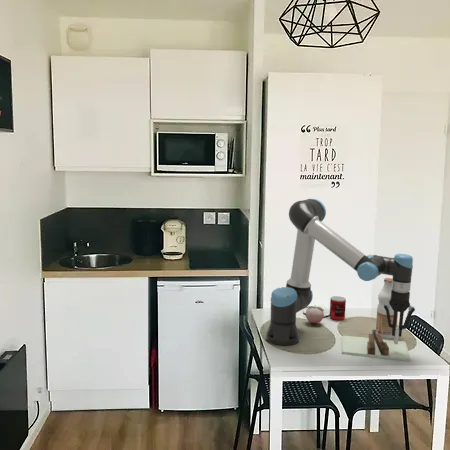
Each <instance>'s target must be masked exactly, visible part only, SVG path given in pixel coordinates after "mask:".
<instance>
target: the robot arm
mask: <svg viewBox="0 0 450 450" xmlns="http://www.w3.org/2000/svg"><path fill="white" fill-rule="evenodd" d="M326 210H327V209H326V207H325V205H324V203H323V202H322V201H320V200H319V199H317V198H308V199H303V200H302V199H301V200H298V201H295V202H294V203H293V204H292V205H291V206H290V208H289V211H288V217H289V218H288V219H289V220H290V223H291V224H292V226H294V227H295V229H296V230H297V233H296V239H295V246H294V253H293V257H292V258H293V259H292V267H291V273H290V278H288V279H287V280H286V286H285V287H284V286H283V287H278V288H277V287H276V288H275V289H274V290H272V292H271V294H270V295H271V296H270V322H269V326H268V327H267V331H266V333H265V334H266V335H265V336H266V337H265V340H266V341H267V342H268V343H271V344H273V345H276V346H277V345H278V346H291V345H295V344H297V343H299V342H300V334H299V330H298V327H297V324H296V323H297V313H298V312H301V311H302V310H305V309H307V308H306V307H308V306H310V304H311V303H312V301H313V297H314V296H313V295H314V294H313V291H312V290H311V288H312V284H311V282H310V281H309V280H310V273H311V267H312V259H313V255H314V250H315V249H314V247H315V242H316V241H317V242H318V243H319V244H320V245H322V246H323V247H324V248H326V249H327V250H329V252H331V253H332V254H334V255H335V256H336V257H337V258H339V259H340V260H342V261H343V263H345V264H347V265H348V266H349V267H350V268H352V269H353V270H354V271H356V273H357V276H358V278H359V279H361V280H362V281H364V282H370V281H372V280H376V279H377V278H378V276H380V275H387V276H392V289H393V290H391V299H390V301H389V303H388V304H384V308H385V310H386V314H387V320H388V325H389V327H391V328H392V336H394V339H393V340H394V344H398V341H399V338H400V337H402V334H403V333H402V331H403V330H406V329H407V328H408V326H409V322H410V320H411V317H412V314H413V313H415V311H416V308H415V307H414V306H412V305H411V303H410V298H411V297H410V296H411V292H410V291H411V283H412V275H413V267H414V266H413V265H414V264H413V262H414V259H413V256H412V255H410V254H406V253H396V254H395V255H394V257H390V256H389V257H388V256H384V255H377V254H368V255H366V254H365V253H363V252H362V251H360V250H359V249H358V248H357V247H355V246H354V245H352V244H351V243H350V242H348V241H347V240H346V239H345V238H344V237H342V236H341V235H339V234H338V233H337V232H336V231H334V230H333V229H332V228H330V226H329V227H328V226H327V225H326V224H325V223H324V222H322V221H323V220H325V218H326V214H327V211H326ZM389 306H391V307H392V309H393V310H394V315H393V324H391V319H390V313H389V308H390V307H389ZM407 309H408V311H407ZM405 311H407V315H406V317H405V319H404V314H405ZM397 312H398V313H399V321H398V319H397ZM396 321H397V322H398V327H397V328H396Z"/></svg>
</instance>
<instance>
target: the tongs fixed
mask: <svg viewBox="0 0 450 450" xmlns="http://www.w3.org/2000/svg"><path fill="white" fill-rule="evenodd" d="M375 334H376V329H372V330H371V333H369V334H368V338H369V342H368V341H367V352H368V354H372V355H375V342H374V340H375Z"/></svg>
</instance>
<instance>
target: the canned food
mask: <svg viewBox="0 0 450 450" xmlns="http://www.w3.org/2000/svg"><path fill="white" fill-rule="evenodd" d="M329 299H330V301H329V319H330V320H332V321H335V322H343V321H344V320H345V318H346V307H347V306H346V303H347V301H346V300H347V299H346V298H345V297H343V296H338V295H337V296H333V295H332V296H331V297H330V298H329Z"/></svg>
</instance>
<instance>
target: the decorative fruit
mask: <svg viewBox="0 0 450 450" xmlns="http://www.w3.org/2000/svg"><path fill="white" fill-rule="evenodd" d="M305 309H306V311H305V315H304V316H305V318H306V320H307V321H308V322H309V323H311V324H314V325H315V324H318V323H320V322H322V321H323V319H324V315H325V312H324V311H325V309H324V308H322V307H319V306H313V305H308V306H307V307H306V308H305Z"/></svg>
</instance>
